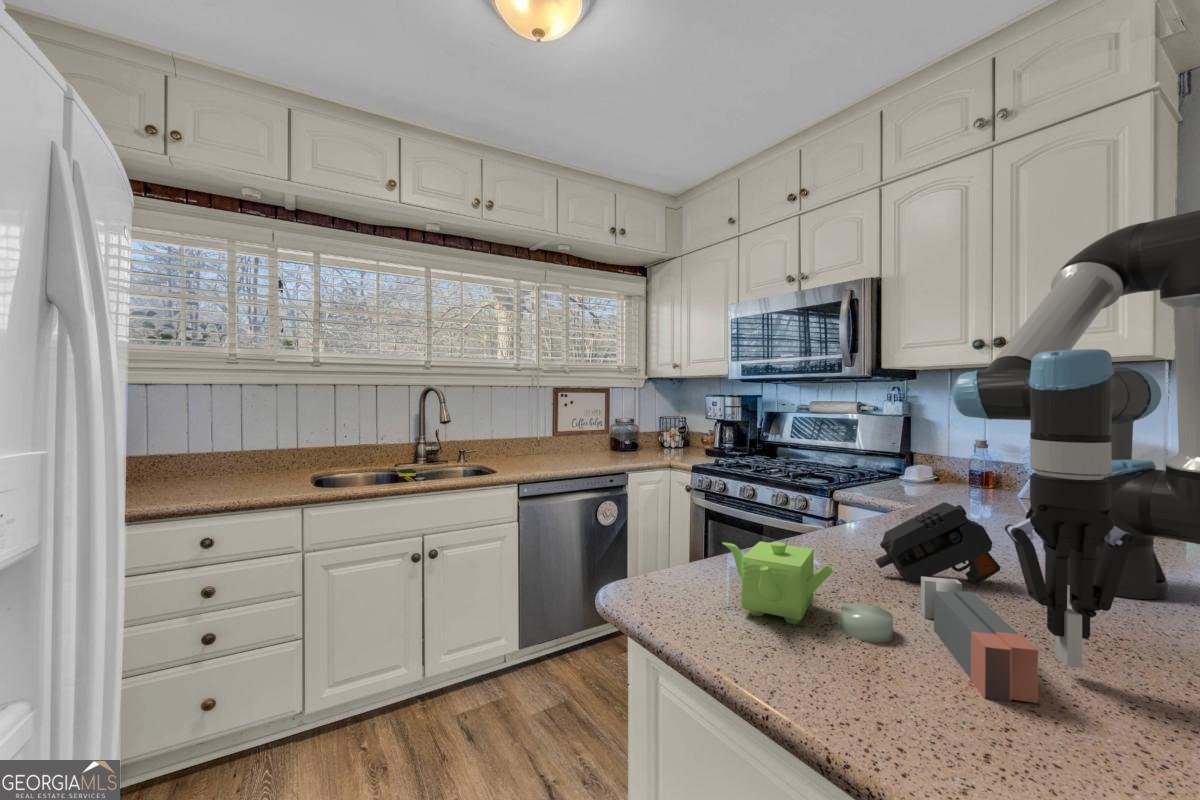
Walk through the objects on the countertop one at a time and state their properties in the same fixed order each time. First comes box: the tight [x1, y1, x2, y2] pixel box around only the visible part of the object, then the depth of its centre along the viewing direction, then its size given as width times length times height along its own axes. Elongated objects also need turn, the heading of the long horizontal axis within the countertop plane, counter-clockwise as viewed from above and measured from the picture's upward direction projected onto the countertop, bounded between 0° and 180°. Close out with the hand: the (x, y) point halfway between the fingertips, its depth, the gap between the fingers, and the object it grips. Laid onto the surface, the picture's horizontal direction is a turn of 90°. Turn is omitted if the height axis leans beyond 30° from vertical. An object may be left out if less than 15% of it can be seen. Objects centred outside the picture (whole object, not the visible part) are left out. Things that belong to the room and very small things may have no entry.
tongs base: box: [920, 576, 1012, 703], centre depth 72 cm, size 24×5×7 cm, turn 164°
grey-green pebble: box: [840, 602, 894, 644], centre depth 78 cm, size 7×7×3 cm
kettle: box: [721, 541, 835, 625], centre depth 85 cm, size 15×14×11 cm
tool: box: [874, 501, 1001, 586], centre depth 99 cm, size 6×19×15 cm, turn 78°
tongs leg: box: [955, 590, 1039, 704], centre depth 68 cm, size 18×3×6 cm, turn 163°
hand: (1068, 661), depth 65 cm, fingers closed
